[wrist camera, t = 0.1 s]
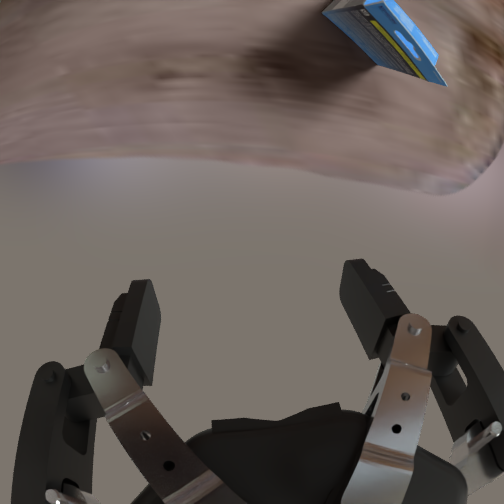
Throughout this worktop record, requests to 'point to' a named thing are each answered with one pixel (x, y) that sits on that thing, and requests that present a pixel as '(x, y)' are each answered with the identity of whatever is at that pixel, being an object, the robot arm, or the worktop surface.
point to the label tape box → (386, 36)
